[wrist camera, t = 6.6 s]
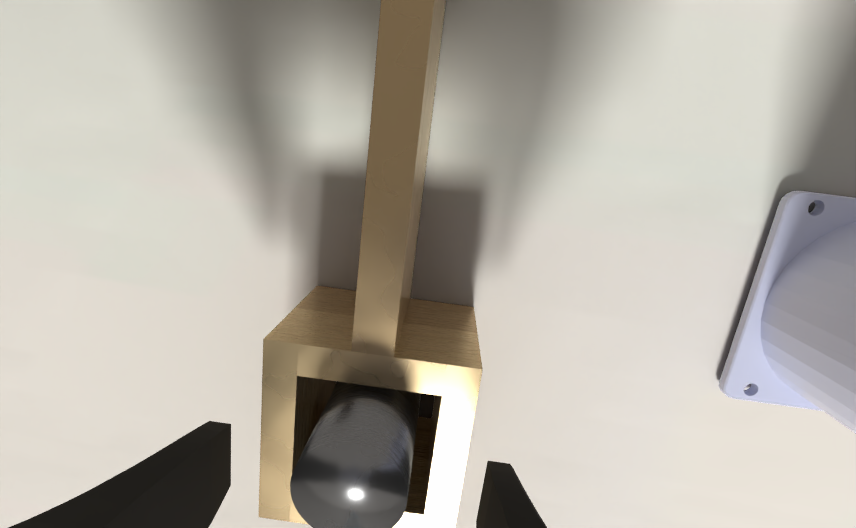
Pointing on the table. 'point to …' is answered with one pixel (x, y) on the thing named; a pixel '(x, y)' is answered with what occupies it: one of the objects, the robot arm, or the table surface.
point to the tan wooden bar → (381, 302)
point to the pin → (358, 459)
